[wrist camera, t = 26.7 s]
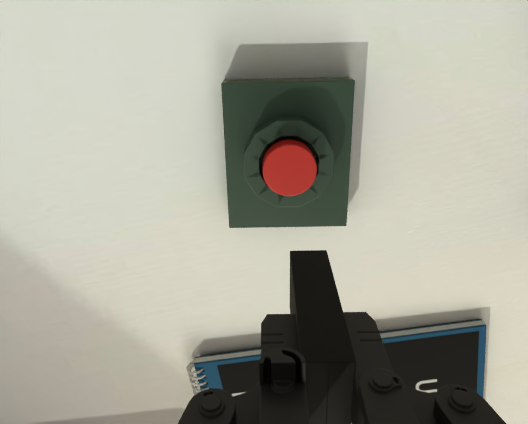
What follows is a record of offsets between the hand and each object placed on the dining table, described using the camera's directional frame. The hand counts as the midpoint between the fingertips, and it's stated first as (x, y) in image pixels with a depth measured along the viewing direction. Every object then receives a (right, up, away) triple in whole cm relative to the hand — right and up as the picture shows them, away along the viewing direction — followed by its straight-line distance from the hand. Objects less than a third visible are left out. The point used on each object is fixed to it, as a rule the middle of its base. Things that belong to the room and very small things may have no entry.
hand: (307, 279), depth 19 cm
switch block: (0, +8, +19) cm, 20 cm away
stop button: (0, +6, +16) cm, 17 cm away
